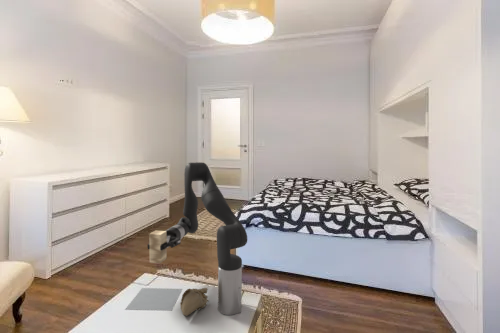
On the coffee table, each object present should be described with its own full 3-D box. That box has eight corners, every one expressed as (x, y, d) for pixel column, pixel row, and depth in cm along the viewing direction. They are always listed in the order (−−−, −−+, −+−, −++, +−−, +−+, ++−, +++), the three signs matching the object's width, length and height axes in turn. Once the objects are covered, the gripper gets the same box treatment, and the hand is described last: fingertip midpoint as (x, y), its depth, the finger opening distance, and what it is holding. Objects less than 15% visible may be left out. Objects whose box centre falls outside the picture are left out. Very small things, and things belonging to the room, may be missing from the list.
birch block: (166, 258, 113) (166, 231, 113) (160, 263, 108) (160, 234, 108) (155, 257, 114) (155, 230, 113) (149, 262, 109) (149, 233, 108)
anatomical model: (199, 298, 95) (212, 283, 110) (171, 297, 97) (188, 282, 112) (199, 319, 95) (213, 301, 109) (172, 318, 97) (189, 300, 111)
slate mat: (182, 289, 117) (182, 288, 117) (171, 311, 101) (171, 310, 101) (142, 289, 117) (142, 288, 117) (124, 310, 101) (124, 309, 101)
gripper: (159, 225, 126) (138, 237, 109) (188, 227, 123) (171, 239, 107) (160, 241, 126) (139, 255, 110) (188, 243, 124) (171, 258, 107)
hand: (154, 247), depth 108 cm, fingers closed on birch block, 5 cm apart
